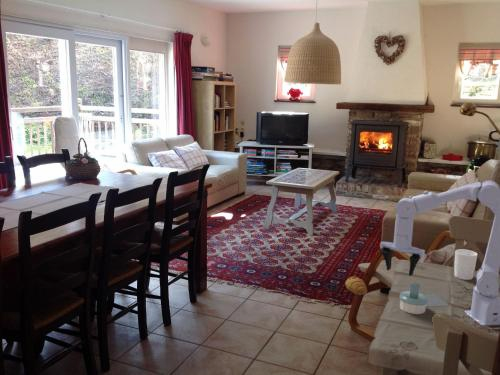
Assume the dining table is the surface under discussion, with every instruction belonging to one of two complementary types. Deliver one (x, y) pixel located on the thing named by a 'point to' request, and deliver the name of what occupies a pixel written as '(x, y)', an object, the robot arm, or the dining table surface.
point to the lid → (414, 296)
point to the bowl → (412, 308)
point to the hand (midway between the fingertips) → (399, 272)
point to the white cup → (464, 264)
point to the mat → (435, 301)
